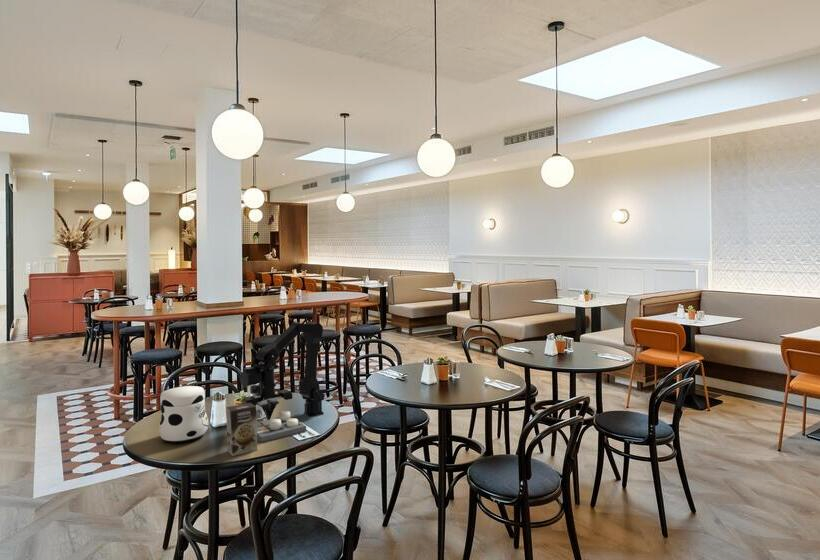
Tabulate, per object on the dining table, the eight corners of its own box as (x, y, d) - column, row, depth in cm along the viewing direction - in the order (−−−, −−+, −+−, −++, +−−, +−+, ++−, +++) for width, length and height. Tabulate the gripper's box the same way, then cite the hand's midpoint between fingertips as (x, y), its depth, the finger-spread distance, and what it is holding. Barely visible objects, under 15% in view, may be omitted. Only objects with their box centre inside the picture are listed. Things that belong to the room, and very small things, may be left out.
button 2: (278, 425, 202) (278, 417, 202) (283, 428, 199) (282, 420, 198) (267, 427, 199) (267, 420, 199) (272, 431, 196) (271, 423, 196)
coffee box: (232, 456, 179) (230, 411, 177) (226, 451, 184) (225, 406, 183) (258, 450, 184) (256, 406, 183) (252, 444, 189) (250, 401, 188)
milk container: (218, 434, 200) (216, 389, 198) (176, 449, 186) (173, 401, 184) (192, 426, 210) (189, 382, 208) (150, 440, 195) (147, 393, 194)
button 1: (271, 424, 208) (271, 416, 208) (276, 427, 204) (275, 419, 204) (261, 426, 205) (260, 419, 205) (265, 429, 202) (265, 422, 201)
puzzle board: (288, 420, 215) (288, 413, 215) (306, 431, 202) (306, 424, 201) (245, 430, 204) (245, 423, 204) (261, 442, 191) (261, 435, 190)
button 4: (295, 424, 206) (295, 417, 206) (300, 427, 203) (299, 420, 203) (284, 427, 204) (284, 420, 204) (289, 430, 200) (289, 423, 200)
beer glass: (268, 415, 222) (266, 380, 221) (261, 420, 215) (260, 385, 214) (252, 414, 223) (251, 380, 221) (245, 420, 216) (244, 385, 215)
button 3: (287, 416, 212) (287, 409, 212) (292, 419, 208) (292, 412, 208) (277, 419, 209) (277, 411, 209) (282, 422, 206) (281, 414, 205)
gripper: (281, 373, 215) (282, 409, 217) (236, 380, 204) (238, 419, 205) (292, 378, 206) (293, 416, 208) (246, 386, 195) (248, 427, 196)
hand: (268, 419), depth 204 cm, fingers closed, pressing on button 1
